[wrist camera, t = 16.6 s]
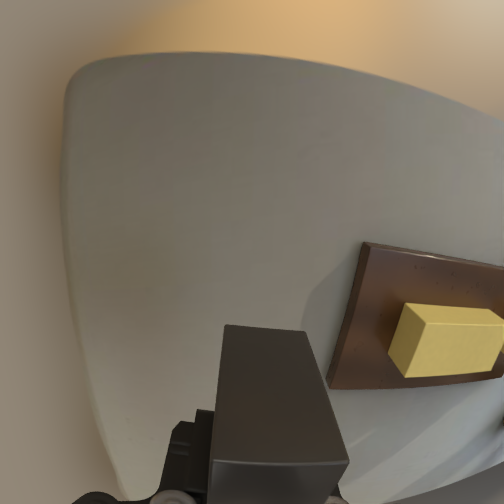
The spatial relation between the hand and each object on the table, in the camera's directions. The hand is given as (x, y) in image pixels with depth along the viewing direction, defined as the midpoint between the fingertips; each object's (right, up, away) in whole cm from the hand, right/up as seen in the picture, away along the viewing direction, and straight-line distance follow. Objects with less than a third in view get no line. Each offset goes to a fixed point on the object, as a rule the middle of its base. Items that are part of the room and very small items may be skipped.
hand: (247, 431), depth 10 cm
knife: (-1, -4, +1) cm, 5 cm away
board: (+18, 0, +14) cm, 23 cm away
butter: (+16, 0, +12) cm, 20 cm away
